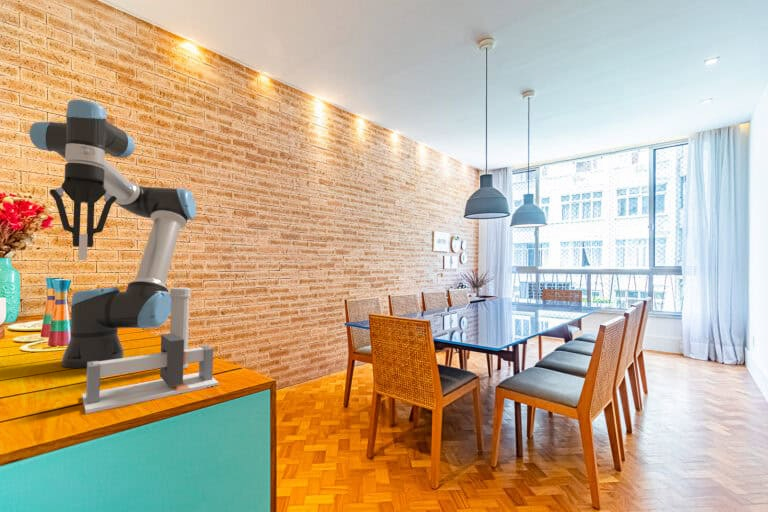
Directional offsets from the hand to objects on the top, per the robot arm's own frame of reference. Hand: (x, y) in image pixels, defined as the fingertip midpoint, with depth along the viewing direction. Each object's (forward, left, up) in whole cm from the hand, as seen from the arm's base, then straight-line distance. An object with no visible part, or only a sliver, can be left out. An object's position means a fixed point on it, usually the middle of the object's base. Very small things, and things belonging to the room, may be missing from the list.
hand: (82, 260), depth 88 cm
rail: (+11, +14, -32) cm, 37 cm away
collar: (+11, +18, -30) cm, 37 cm away
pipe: (-6, +23, -33) cm, 40 cm away
